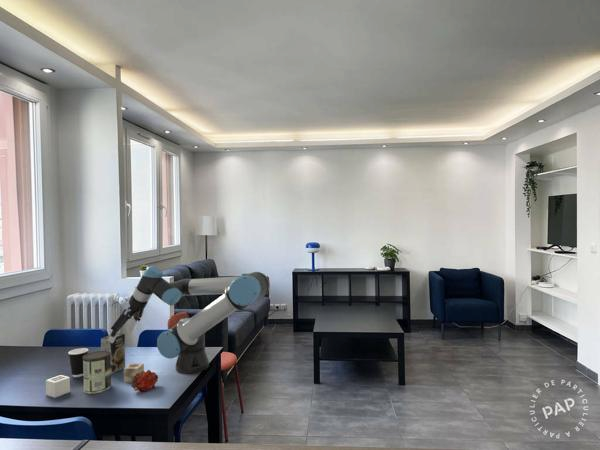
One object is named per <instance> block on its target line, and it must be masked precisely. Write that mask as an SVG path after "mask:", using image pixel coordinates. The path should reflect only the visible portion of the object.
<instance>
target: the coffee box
mask: <svg viewBox="0 0 600 450" xmlns="http://www.w3.org/2000/svg"><path fill="white" fill-rule="evenodd" d="M109 336H110V334H109V335H107V336H104V337H102V338H100V351H109V352H111V375H113V374H115V373H117V372H119V371H121V370H122V369H123V370H124V368H125V367H126V335H125V333H118V335H117V337H116V339H115V341H114V342H113V343H111V342H109V341H108V338H109Z"/></svg>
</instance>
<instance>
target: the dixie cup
mask: <svg viewBox="0 0 600 450" xmlns="http://www.w3.org/2000/svg"><path fill="white" fill-rule="evenodd" d="M88 353H89V349H88V348H86V347H82V348H75V349H71V350H70V351H68V356H69V365H70V369H71V375H72V377H73V378H81V377H84V373H83V356H84V355H86V354H88Z"/></svg>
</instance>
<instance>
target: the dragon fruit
mask: <svg viewBox="0 0 600 450" xmlns="http://www.w3.org/2000/svg"><path fill="white" fill-rule="evenodd" d="M158 379H159V376H158V375H157V373H156V372H154V371H153V372H152V371H151V370H150V369H147V371H145V370H144V371H142V372H141V373H137V374H136V375H135V376H134V378H133V380H132V382H131V388H133V390H134V391H136V392H137V391H138V392H139V393H141V392H143V391H145V392H148V391H149V390H151V389H154V388H155V385H156V383H157V381H158Z"/></svg>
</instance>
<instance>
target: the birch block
mask: <svg viewBox="0 0 600 450" xmlns="http://www.w3.org/2000/svg"><path fill="white" fill-rule="evenodd" d="M144 364H145V363H142V362H141V363H136V362H135V363H133V362H131V363H129V364H128V365H127V366H126V365H125V368H123V383H132V380H133V378H134V376H135V375H136V374H137V373H141V372H142V371H144V372H145V368H144V366H145V365H144Z"/></svg>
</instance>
